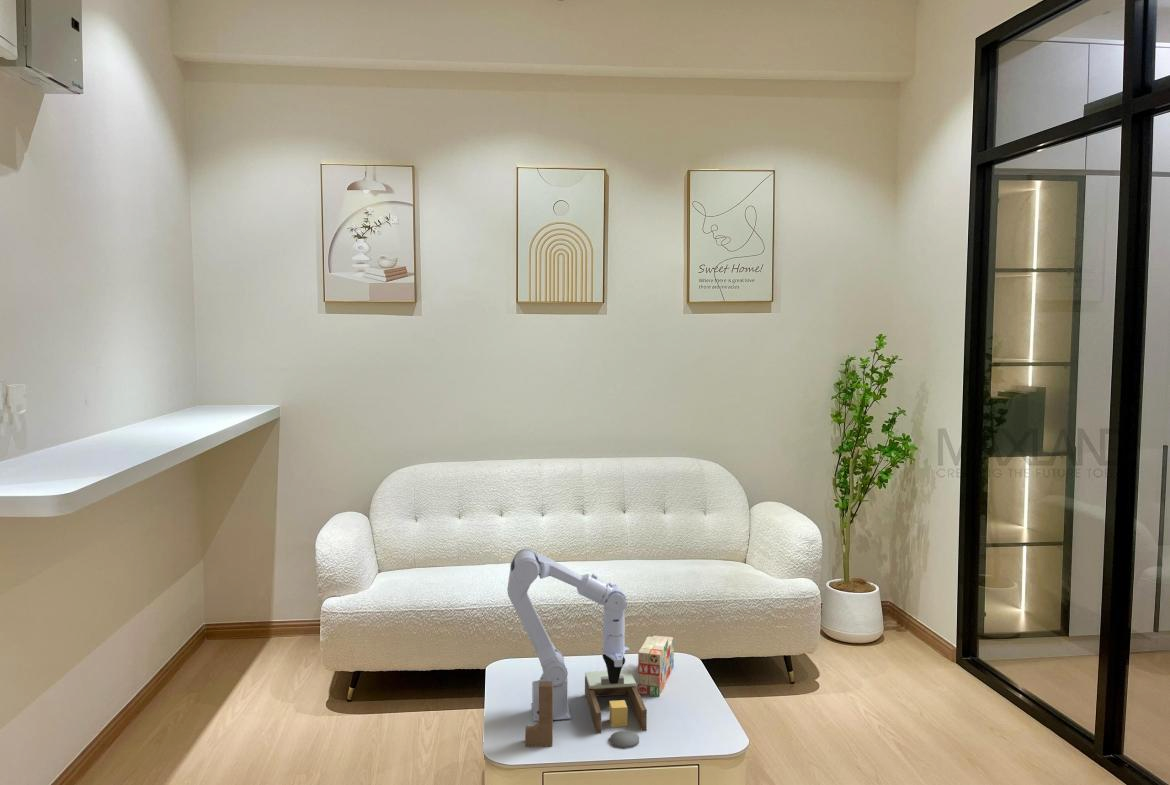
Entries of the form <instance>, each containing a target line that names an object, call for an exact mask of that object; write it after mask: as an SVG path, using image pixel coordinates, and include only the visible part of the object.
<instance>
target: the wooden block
mask: <svg viewBox="0 0 1170 785" xmlns="http://www.w3.org/2000/svg"><path fill="white" fill-rule="evenodd" d="M553 721H554V720H553V682H552V681H540V682H539V721H537V723H535V724H533V725H526V726H525V732H524V733H525V741H524V742H525V744H524V745H525V747H553V743H554V742H553V739H554V738H553V735H554V732H553V730H554V729H553V727H554V725H553V724H554V723H553Z"/></svg>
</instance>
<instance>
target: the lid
mask: <svg viewBox="0 0 1170 785" xmlns="http://www.w3.org/2000/svg"><path fill="white" fill-rule="evenodd" d="M584 675H585V676H586V679H587V682H588V685H589V688H590V689H594V688H612V687H630V686H636V687H637V682H636V680H635V678H634V676H633V673H632V671H631V669H621V672H620V677H619V681H618V683H617V684H610V682H609V678H608V672H607V670H600V671H599V670H597V671H585V672H584ZM585 676H584V677H585Z"/></svg>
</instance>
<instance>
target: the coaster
mask: <svg viewBox="0 0 1170 785" xmlns="http://www.w3.org/2000/svg"><path fill="white" fill-rule="evenodd" d="M610 743H611V745H613V746H614V747H617V748H621V749H631V748H634V747H637V746H638V745H639V744H640V737H639V734H637V733H636V732H634V731H629V730H618V731H615V732H613V733H612V734H611V735H610Z"/></svg>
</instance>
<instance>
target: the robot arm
mask: <svg viewBox="0 0 1170 785" xmlns="http://www.w3.org/2000/svg"><path fill="white" fill-rule="evenodd" d="M509 565H510V566H509V567H510V568H509V576H508V582H507V587H506V588H507V590H506V591H507V596H508V598H509V600H510V602H511V604H512V607H513V608H514V610H515V613H516V614H517V616H518V618H519V620H520V622H521V625H522V627H523V628H524V630H525V633H526V635H527V636H528V638H529V640H530V642H531V645H532V647H533V648H534V651H535V652H536V654H537V657H538V660H539V663H540V666H541V668H542V673H541V676H540V677H539V679H538V680H533V681H532V683H531V686H532V688H531V689H532V690H531V691H532V692H531V693H532V694H531V698H532V699H531V705H530V706H531V708H530V709H531V711H532V717H533V718H532V719H533V721H534V722H538V721H539V682H540V681H552V682H553V721H559V720H570V719H571V713H570V710H569V705H568V668H567V667H566V664H565V658H564V655H563V654H562V653H561V651H560V650H558V649H557V648H556V647H555V645H554V643H553V641H552V640H551V638H550V636H549V635H548V632H547V630H546V628H545V627H544V623H543V622H542V620H541V618H540V616H539V614H538V612H537V610H536V607H535V605H533V602H532V600H531V598H530V596H529V594H528V591H529V589H530V586H531V585H532V584H533V583H534V581H536V579H537V578H538V577H539V579H540V580H541V579H542V580H543V579H544V578H548V577H552V578H554V579H556V580H559V581H561V582H564V583H565V584H568V585H570V586H572V587H575V588H576V591H577V593H578V594H579V595H580V596H581V597H582V596H583V597H584V598H586V599H588V600H591V601H592V602H595V603H596V604H599V605H603V616H602V617H603V619H602V620H603V623H602V625H603V626H602V627H603V629H602V633H603V634H602V648H601V649H602V659H603V661H604V663H605V667H606V671H607V672H608V678H609V682H610V684H617V683H618V681H619V677H620V672H621V670H623V667H624V665H625V663H626V658H625V654H626V653H629V652H630V648H629V646H625V644H626V643H625V641H626V640H625V638H626V637H625V635H626V629H625V628H626V616H625V610H626V608H627V607H628V601H627V597H626V595H625V593H624V592H623V590H622V588H620V587H619V586H617V584H614V583H612V582H605V581H603V580H602V579H600V578H599V577H598V575H597V574H595V573H592V574H589V573H586V574H582V575H580V574H578V573H577V572H575V571H574V570H571V569H570V568H568V567H566V566H564V565H563V564H561V563H559V562H556V561H555V560H553V559H551V558H549V557H548V556H546V555H544V554H541V553H539V552H536V553H535V551H533V550H532V549H530V548H529V549H528V548H522V549H520V550H519V551H517V552H516V553H515V555H514V556H513V558H512V560H511V562H510V564H509Z"/></svg>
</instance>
